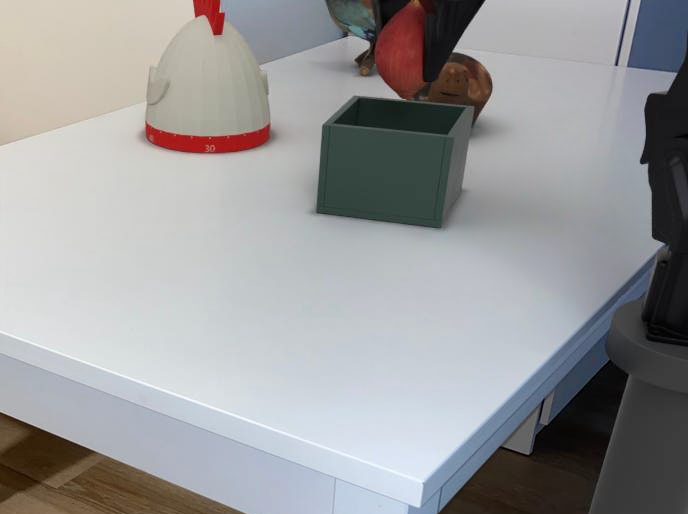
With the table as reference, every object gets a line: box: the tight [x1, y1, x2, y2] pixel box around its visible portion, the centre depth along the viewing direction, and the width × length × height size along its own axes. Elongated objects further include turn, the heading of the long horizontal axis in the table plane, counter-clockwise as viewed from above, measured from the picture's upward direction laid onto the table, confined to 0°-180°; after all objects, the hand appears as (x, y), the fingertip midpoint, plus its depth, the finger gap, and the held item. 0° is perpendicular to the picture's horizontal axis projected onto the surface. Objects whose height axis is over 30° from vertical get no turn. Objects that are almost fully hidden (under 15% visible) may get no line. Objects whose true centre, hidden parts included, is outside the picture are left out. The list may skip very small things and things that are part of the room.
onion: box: [374, 0, 429, 100], centre depth 84 cm, size 6×6×8 cm
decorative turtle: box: [405, 51, 494, 130], centre depth 112 cm, size 10×15×8 cm, turn 174°
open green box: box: [315, 94, 474, 229], centre depth 91 cm, size 11×11×8 cm
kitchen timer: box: [144, 0, 271, 154], centre depth 106 cm, size 14×14×15 cm
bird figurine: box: [324, 0, 378, 77], centre depth 134 cm, size 13×10×20 cm
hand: (408, 74), depth 85 cm, fingers closed on onion, 6 cm apart
